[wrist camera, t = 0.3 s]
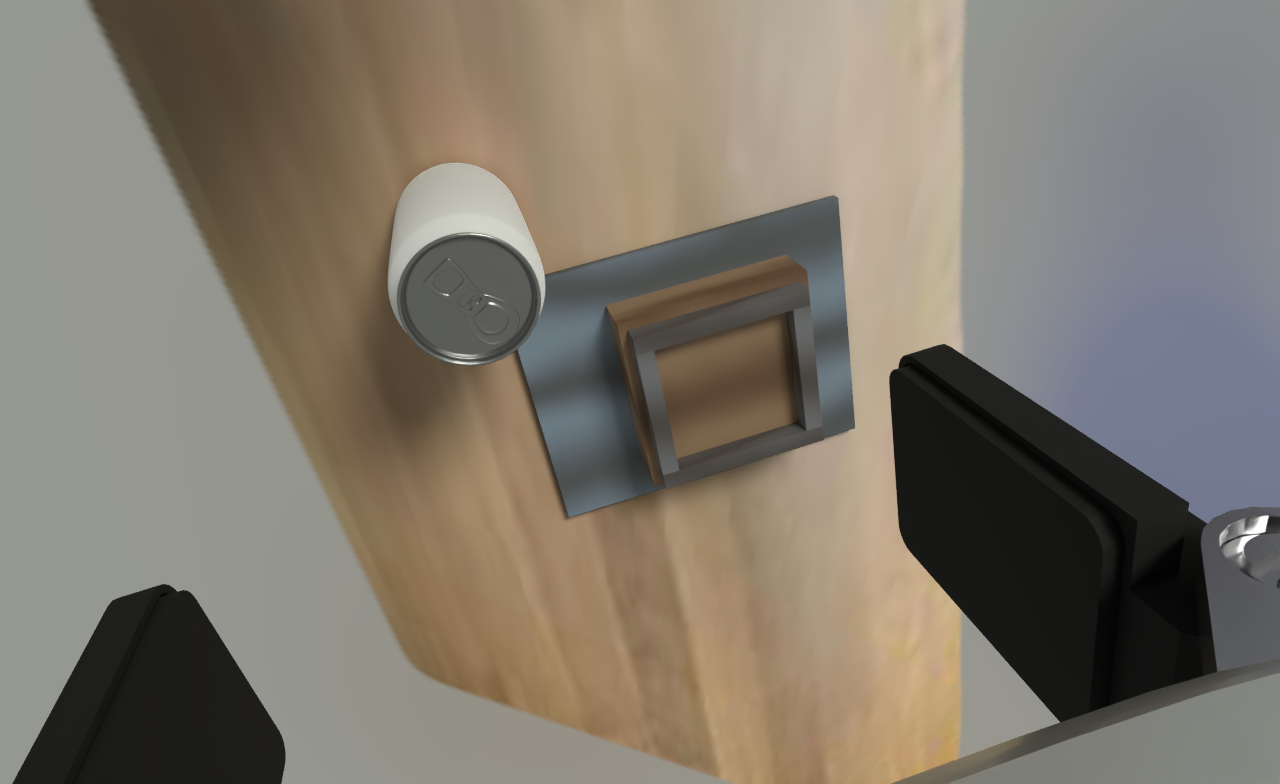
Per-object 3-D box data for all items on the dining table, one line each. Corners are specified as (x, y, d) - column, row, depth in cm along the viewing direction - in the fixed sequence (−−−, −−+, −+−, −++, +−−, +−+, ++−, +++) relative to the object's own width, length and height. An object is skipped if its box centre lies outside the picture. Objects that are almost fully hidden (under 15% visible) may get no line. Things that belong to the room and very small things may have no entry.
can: (462, 305, 44) (474, 404, 34) (367, 223, 41) (348, 305, 31) (545, 223, 43) (584, 299, 33) (455, 132, 40) (466, 186, 30)
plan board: (498, 287, 44) (506, 319, 40) (833, 195, 46) (873, 216, 42) (567, 512, 52) (580, 558, 48) (850, 423, 54) (886, 460, 50)
